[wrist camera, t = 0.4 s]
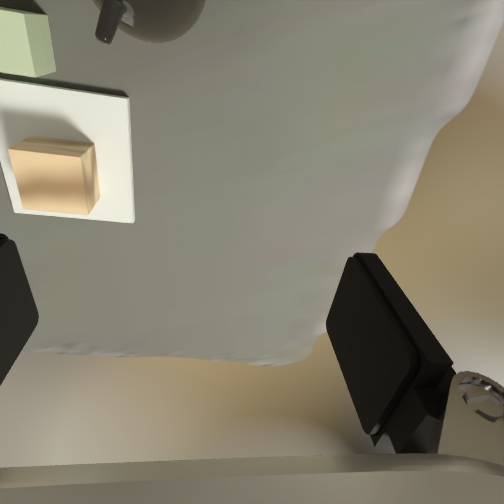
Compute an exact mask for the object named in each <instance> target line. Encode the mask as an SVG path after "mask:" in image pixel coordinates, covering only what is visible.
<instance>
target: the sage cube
mask: <svg viewBox="0 0 504 504" xmlns="http://www.w3.org/2000/svg"><path fill="white" fill-rule="evenodd" d="M0 72H2V73H9V74H16V75H22V76H29V77H39V76H42V75H46V74H49V73H53V72H56V68H55V61H54V55H53V48H52V42H51V35H50V29H49V23H48V16H47V15H44V14H38V13H33V12H27V11H22V10H16V9H10V8H5V7H0Z"/></svg>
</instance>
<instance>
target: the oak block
mask: <svg viewBox="0 0 504 504" xmlns="http://www.w3.org/2000/svg"><path fill="white" fill-rule="evenodd" d="M8 152H9V156H10V160H11V164H12V167H13V171H14V175H15V179H16V183H17V187H18V191H19V194H20V198H21V202H22V206H23V209H24V210H35V211H46V212H57V213H68V214H79V215H89V213H90V212H91V210H92V209H93V207H94V206H95V204H96V203H97V202H98V200H99V199H100V188H99V179H98V170H97V161H96V152H95V144H94V143H86V142H78V141H70V140H62V139H54V138H46V137H38V136H29V137H27V138H25V139H24V140H22V141H20V142H19V143H17V144H15V145H14V146H12V147H10V148H9V149H8Z"/></svg>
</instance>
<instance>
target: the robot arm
mask: <svg viewBox="0 0 504 504" xmlns="http://www.w3.org/2000/svg"><path fill="white" fill-rule="evenodd" d="M38 318H39V315H38V311H37V307H36V304H35V301H34V298H33V295H32V292H31V289H30V286H29V283H28V280H27V277H26V274H25V271H24V268H23V265H22V262H21V259H20V256H19V253H18V250H17V247H16V244H15V242H14V241H13V240H9V239H8V237H7V236H6V235H4V234H0V385H1V384H2V382H3V380H4V379H5V377H6V375H7V374H8V372H9V370H10V369H11V367H12V365H13V364H14V362H15V360H16V359H17V357H18V355H19V354H20V352H21V350H22V349H23V347H24V345H25V344H26V342H27V341H28V339H29V337H30V336H31V334H32V332H33V331H34V329H35V327H36V325H37V323H38ZM326 329H327V332H328V335H329V338H330V341H331V343H332V346H333V349H334V351H335V354H336V357H337V360H338V362H339V365H340V368H341V370H342V373H343V376H344V379H345V381H346V384H347V387H348V390H349V392H350V395H351V398H352V401H353V403H354V406H355V409H356V411H357V414H358V417H359V419H360V422H361V425H362V428H363V430H364V432H365V433H366V434H370V436H371V438H372V441H373V444H374V446H375V447H386V446H387V447H389V446H393V447H394V450H395V452H396V454H348V455H347V454H346V455H316V456H289V457H259V458H232V459H231V458H229V459H203V460H177V461H153V462H152V461H151V462H126V463H103V464H78V465H55V466H32V467H9V468H0V504H504V387H502V386H501V385H500V384H498V383H497V382H495V381H493V380H492V379H490V378H489V377H486V376H484V375H481V374H479V373H475V372H470V371H464V372H459V373H457V374H456V372H455V371H454V369H453V368H452V365H453V361H452V360H451V359H450V357H449V356H448V354H447V353H446V352H445V350H444V349H443V347H442V346H441V344H440V343H439V342H438V340H437V339H436V338H435V336H434V335H433V333H432V332H431V330H430V329H429V328H428V326H427V325H426V323H425V322H424V320H423V319H422V318H421V316H420V315H419V313H418V312H417V311H416V309H415V308H414V306H413V305H412V304H411V302H410V301H409V299H408V298H407V297H406V295H405V294H404V292H403V291H402V290H401V288H400V287H399V285H398V284H397V282H396V281H395V280H394V278H393V277H392V275H391V274H390V273H389V271H388V270H387V269H386V267H385V266H384V264H383V263H382V261H381V260H380V259H379V258H378V256H377V255H376V254H374V253H355V254H354V255H353V257H349V258H348V260H347V262H346V265H345V268H344V271H343V273H342V276H341V279H340V282H339V285H338V288H337V291H336V294H335V297H334V300H333V302H332V305H331V308H330V311H329V314H328V317H327V320H326Z"/></svg>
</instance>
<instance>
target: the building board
mask: <svg viewBox="0 0 504 504" xmlns="http://www.w3.org/2000/svg"><path fill="white" fill-rule="evenodd" d="M29 136H38V137H46V138H54V139H62V140H70V141H78V142H86V143H94V144H95V152H96V161H97V170H98V179H99V188H100V199H99V200H98V202H97V203H96V204H95V206H94V207H93V209H92V210H91V212H90V213H89V215H79V214H68V213H57V212H46V211H35V210H24V209H23V206H22V202H21V198H20V194H19V191H18V187H17V183H16V179H15V175H14V171H13V167H12V164H11V160H10V156H9V152H8V149H9V148H10V147H12V146H14V145H15V144H17V143H19V142H20V141H22V140H24V139H25V138H27V137H29ZM0 162H1V165H2V169H3V173H4V176H5V180H6V183H7V187H8V191H9V194H10V198H11V201H12V205H13V209H14V212H15V213H26V214H37V215H48V216H59V217H70V218H81V219H93V220H104V221H115V222H126V223H134V221H135V210H134V189H133V168H132V147H131V126H130V105H129V97H124V96H117V95H110V94H104V93H97V92H90V91H83V90H77V89H70V88H63V87H56V86H50V85H43V84H36V83H29V82H23V81H16V80H9V79H2V78H0Z"/></svg>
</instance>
